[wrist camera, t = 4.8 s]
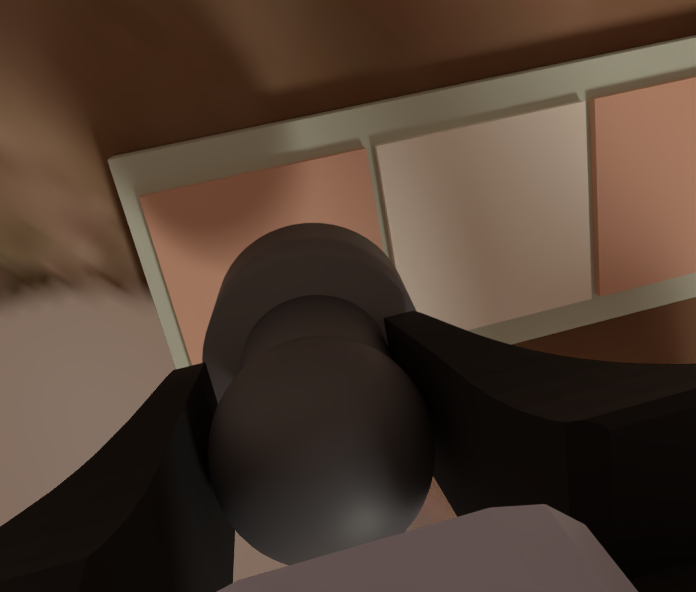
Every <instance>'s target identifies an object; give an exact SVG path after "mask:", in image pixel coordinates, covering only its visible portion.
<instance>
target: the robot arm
mask: <svg viewBox="0 0 696 592" xmlns="http://www.w3.org/2000/svg"><path fill="white" fill-rule="evenodd" d="M384 324H385V330H386V335H387V341H388V347H389V351H390V354H391V357H392V360H393V361H394V362H395V363H396V364H397V365H399V366H400V367H401V368H402V369H403V370H404V372H405V373H406V374H407V375H408V376H409V377H410V379H411V380H412V381H413V382H414V384H415V385H416V387H417V389H418V390H419V392H420V394H421V396H422V397H423V399H424V401H425V404H426V406H427V409H428V411H429V414H430V418H431V422H432V426H433V430H434V437H435V467H434V472H433V476H434V478H435V480H436V481H437V483H438V485H439V486H440V488H441V490H442V491H443V493H444V495H445V497H446V498H447V500H448V502H449V503H450V505H451V507H452V508H453V510H454V512H455V513H456V515H457V517H456V518H452V519H449V520H445V521H442V522H438V523H435V524H431V525H428V526H424V527H421V528H418V529H414V530H411V531H407V532H404V533H400V534H397V535H393V536H390V537H386V538H383V539H379V540H376V541H373V542H369V543H366V544H362V545H359V546H355V547H352V548H348V549H345V550H341V551H338V552H334V553H331V554H328V555H324V556H321V557H317V558H314V559H310V560H307V561H303V562H300V563H296V564H293V565H290V566H286V567H283V568H279V569H276V570H272V571H269V572H265V573H262V574H258V575H255V576H252V577H248V578H245V579H241V580H238V581H236V582H234V583H233V563H234V542H235V529H234V528H233V527H232V526H231V524H230V522H229V521H228V519H227V518H226V516H225V515H224V513H223V511H222V510H221V508H220V506H219V503H218V501H217V499H216V496H215V493H214V491H213V488H212V484H211V480H210V475H209V466H208V441H209V432H210V428H211V424H212V420H213V417H214V414H215V411H216V409H217V407H218V402H217V398H216V395H215V392H214V389H213V385H212V382H211V379H210V376H209V372H208V369H207V366H206V363H205V362H204V363H200V364H196V365H192V366H188V367H184V368H180V369H176V370H173V371H172V372H171V373H170V374H169V375H168V376H167V377H166V378H165V379H164V381H163V382H162V383H161V384H160V385H159V386H158V387H157V389H156V390H155V391H154V392H153V393H152V394H151V396H150V397H149V398H148V399H147V400H146V401H145V402H144V404H143V405H142V406H141V407H140V408H139V409H138V410H137V411H136V413H135V414H134V415H133V416H132V417H131V418H130V419H129V421H128V422H127V423H126V424H125V425H124V426H123V427H122V428H121V429H120V430H119V431H118V432H117V433H116V434H115V435H114V436H113V437H112V438H111V439H110V440H109V441H108V442H107V443H106V444H105V445H104V446H103V447H102V448H101V449H100V450H99V451H98V452H97V453H96V454H95V455H94V456H93V457H92V458H90V460H88V461H87V462H86V463H85V464H84V465H83V466H81V467H80V468H79V469H78V470H77V471H75V472H74V473H73V474H72V475H71V476H69V477H68V478H67V479H66V480H64V481H63V482H62V483H61V484H60V485H58V486H57V487H56V488H54V489H53V490H52V491H51V492H49V493H48V494H47V495H45V496H44V497H42V498H41V499H39V500H38V501H37V502H35V503H34V504H32V505H31V506H29V507H28V508H26V509H25V510H24V511H22V512H21V513H20V514H18V515H17V516H15V517H14V518H12V519H11V520H9V521H8V522H7V523H5V524H4V525H2V526H0V592H696V364H637V363H619V362H607V361H598V360H588V359H579V358H572V357H565V356H559V355H554V354H549V353H544V352H539V351H534V350H529V349H525V348H521V347H517V346H514V345H510V344H507V343H503V342H500V341H497V340H493V339H490V338H487V337H484V336H481V335H478V334H475V333H473V332H470V331H467V330H464V329H462V328H459V327H457V326H454V325H451V324H449V323H446V322H444V321H441V320H439V319H436V318H434V317H431V316H428V315H426V314H423V313H420V312H417V311H409V312H405V313H401V314H397V315H393V316H389V317H385V318H384Z"/></svg>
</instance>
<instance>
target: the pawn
mask: <svg viewBox="0 0 696 592" xmlns="http://www.w3.org/2000/svg"><path fill="white" fill-rule="evenodd" d="M409 311H416V309H415V307H414V305H413V302H412V300H411V298H410V296H409V294H408V292H407V290H406V288H405V286H404V284H403V282H402V279H401V277H400V275H399V273H398V272H397V270H396V268H395V266H394V264H393V263H392V262H391V260H390V259H389V258H388V256H387V255H386V254H385V253H384V252H383V251H382V250H381V249H380V248H379V247H378V246H377V245H375V244H374V243H373V242H371V241H370V240H369V239H367V238H366V237H364V236H362V235H360V234H359V233H357V232H354V231H352V230H349V229H347V228H344V227H340V226H337V225H333V224H325V223H301V224H294V225H289V226H286V227H282V228H279V229H276V230H274V231H272V232H269V233H267V234H265V235H264V236H262V237H260V238H258V239H257V240H255V241H254V242H253V243H251V244H250V245H249V246H248V247H246V248H245V249H244V250H243V251H242V252H241V253H240V254H239V255H238V257H237V258H236V259H235V261H234V262H233V263H232V265H231V266H230V268H229V269H228V271H227V273H226V275H225V277H224V279H223V282H222V285H221V287H220V290H219V293H218V297H217V300H216V303H215V306H214V309H213V312H212V315H211V318H210V321H209V325H208V328H207V331H206V335H205V339H204V344H203V354H202V363H204V362H205V363H206V366H207V369H208V372H209V376H210V379H211V382H212V385H213V389H214V392H215V395H216V398H217V402H218V407H217V409H216V411H215V414H214V417H213V420H212V424H211V428H210V432H209V441H208V466H209V475H210V480H211V484H212V488H213V491H214V493H215V496H216V499H217V501H218V503H219V506H220V508H221V510H222V511H223V513H224V515H225V516H226V518H227V519H228V521H229V522H230V524H231V526H232V527H233V528H234V529H235V530H236V532H237V533H238V534H239V535H240V536H241V537H242V538H243V539H245V540H246V541H247V542H248V543H249V544H250V545H251V546H252V547H253V548H255V549H256V550H258V551H259V552H261V553H262V554H264V555H266V556H268V557H270V558H272V559H274V560H276V561H278V562H281V563H284V564H286V565H289V566H290V565H293V564H296V563H300V562H303V561H307V560H310V559H314V558H317V557H321V556H324V555H328V554H331V553H334V552H338V551H341V550H345V549H348V548H352V547H355V546H359V545H362V544H366V543H369V542H373V541H376V540H379V539H383V538H386V537H390V536H393V535H397V534H400V533H404V532H405V531H406V530H407V528H408V527H409V526H410V525H411V523H412V522H413V521H414V519H415V518H416V517H417V515H418V513H419V511H420V510H421V508H422V506H423V504H424V501H425V499H426V497H427V494H428V492H429V489H430V486H431V481H432V477H433V472H434V467H435V437H434V430H433V426H432V422H431V418H430V414H429V411H428V409H427V406H426V404H425V401H424V399H423V397H422V396H421V394H420V392H419V390H418V389H417V387H416V385H415V384H414V382H413V381H412V380H411V379H410V377H409V376H408V375H407V374H406V373H405V372H404V370H403V369H402V368H401V367H400V366H399V365H397V364H396V363H395V362H394V361H393V360H392V357H391V354H390V351H389V347H388V341H387V335H386V330H385V324H384V318H385V317H389V316H393V315H397V314H401V313H405V312H409Z"/></svg>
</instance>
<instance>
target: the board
mask: <svg viewBox="0 0 696 592" xmlns="http://www.w3.org/2000/svg"><path fill="white" fill-rule="evenodd" d="M107 161H108V164H109V167H110V170H111V173H112V176H113V179H114V182H115V185H116V188H117V191H118V194H119V197H120V200H121V204H122V207H123V210H124V213H125V216H126V219H127V222H128V225H129V228H130V231H131V234H132V237H133V240H134V243H135V246H136V249H137V252H138V255H139V258H140V261H141V264H142V267H143V271H144V274H145V277H146V280H147V283H148V286H149V289H150V292H151V295H152V298H153V301H154V304H155V307H156V310H157V313H158V316H159V319H160V322H161V325H162V328H163V331H164V334H165V337H166V341H167V343H168V347H169V350H170V352H171V356H172V358H173V362H174V365H175V368H176V369H180V368H184V367H188V366H192V365H196V364H200V363H202V354H203V344H204V339H205V335H206V331H207V328H208V325H209V321H210V318H211V315H212V312H213V309H214V306H215V303H216V300H217V297H218V293H219V290H220V287H221V285H222V282H223V279H224V277H225V275H226V273H227V271H228V269H229V268H230V266H231V265H232V263H233V262H234V261H235V259H236V258H237V257H238V255H239V254H240V253H241V252H242V251H243V250H244V249H245V248H246V247H248V246H249V245H250V244H251V243H253V242H254V241H255V240H257V239H258V238H260V237H262V236H264V235H265V234H267V233H269V232H272V231H274V230H276V229H279V228H282V227H286V226H289V225H294V224H301V223H325V224H333V225H337V226H340V227H344V228H347V229H349V230H352V231H354V232H357V233H359V234H360V235H362V236H364V237H366V238H367V239H369V240H370V241H371V242H373V243H374V244H375V245H377V246H378V247H379V248H380V249H381V250H382V251H383V252H384V253H385V254H386V255H387V256H388V258H389V259H390V260H391V262H392V263H393V264H394V266H395V268H396V270H397V272H398V273H399V275H400V277H401V279H402V282H403V284H404V286H405V288H406V290H407V292H408V294H409V296H410V298H411V300H412V302H413V305H414V307H415V309H416V311H417V312H420V313H423V314H426V315H428V316H431V317H434V318H436V319H439V320H441V321H444V322H446V323H449V324H451V325H454V326H457V327H459V328H462V329H464V330H467V331H470V332H473V333H475V334H478V335H481V336H484V337H487V338H490V339H493V340H497V341H500V342H503V343H507V344H510V345H512V344H515V343H519V342H523V341H527V340H531V339H535V338H539V337H542V336H546V335H550V334H554V333H558V332H562V331H566V330H570V329H573V328H577V327H581V326H585V325H589V324H593V323H597V322H600V321H604V320H608V319H612V318H616V317H620V316H624V315H628V314H631V313H635V312H639V311H643V310H647V309H651V308H655V307H659V306H662V305H666V304H670V303H674V302H678V301H682V300H686V299H689V298H693V297H696V35H693V36H688V37H684V38H679V39H674V40H669V41H664V42H659V43H655V44H650V45H645V46H640V47H635V48H631V49H626V50H621V51H616V52H611V53H606V54H602V55H597V56H592V57H587V58H582V59H578V60H573V61H568V62H563V63H558V64H553V65H549V66H544V67H539V68H534V69H529V70H525V71H520V72H515V73H510V74H505V75H501V76H496V77H491V78H486V79H481V80H476V81H472V82H467V83H462V84H457V85H452V86H448V87H443V88H438V89H433V90H428V91H423V92H419V93H414V94H409V95H404V96H399V97H395V98H390V99H385V100H380V101H375V102H370V103H366V104H361V105H356V106H351V107H346V108H342V109H337V110H332V111H327V112H322V113H317V114H313V115H308V116H303V117H298V118H293V119H289V120H284V121H279V122H274V123H269V124H265V125H260V126H255V127H250V128H245V129H240V130H236V131H231V132H226V133H221V134H216V135H212V136H207V137H202V138H197V139H192V140H187V141H183V142H178V143H173V144H168V145H163V146H159V147H154V148H149V149H144V150H139V151H134V152H130V153H125V154H120V155H115V156H112V157H110V158H109V159H108V160H107Z"/></svg>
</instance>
